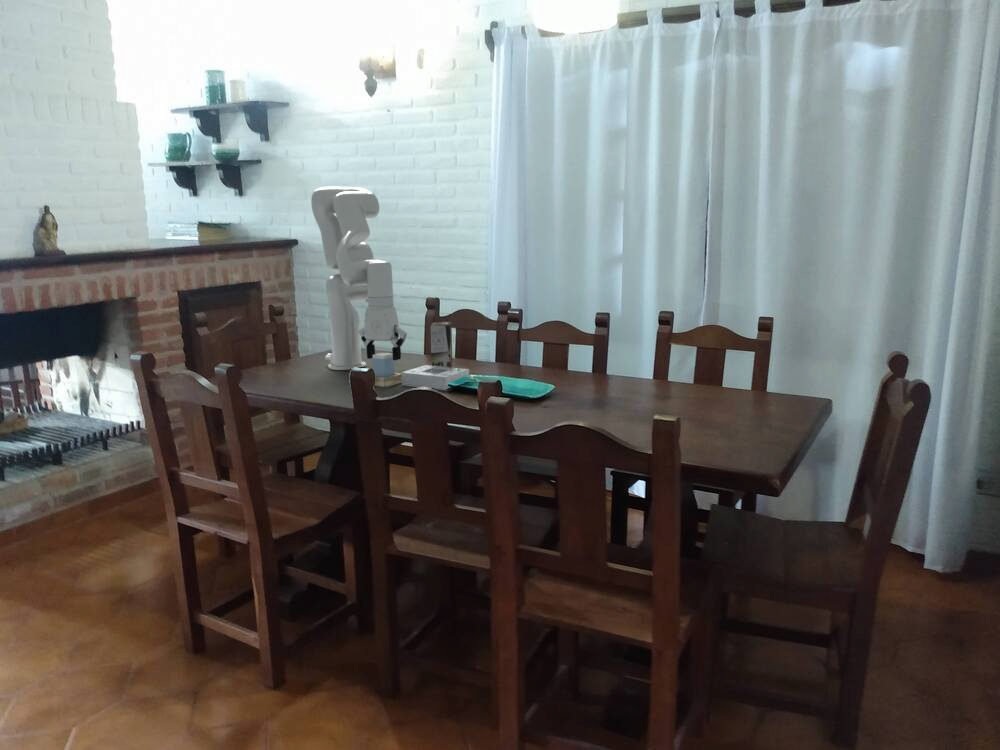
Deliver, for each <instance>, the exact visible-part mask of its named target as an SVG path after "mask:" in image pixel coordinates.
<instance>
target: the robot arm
mask: <svg viewBox="0 0 1000 750" xmlns="http://www.w3.org/2000/svg"><path fill="white" fill-rule="evenodd" d="M310 198H311V203H310V204H311V210H312V215H313V216H314V220H315V221H316V224H317V226H318V228H319V232H320V235H321V236H320V237H321V241H322V247H323V254H324V258H325V259H324V261H325V263H326V265H327V268H328V269H330V270H332V271H338V272H339V273H335V274H333V275H330V276H329V277H328V278H327V279H326V280H325V281H326V282H325V284H324V285H325V293H326V296H327V300H328V301H327V302H328V308H329V309H328V310H329V318H330V320H329V321H330V332H331V333H330V335H331V352H332V353H327V354H326V355H325V357H324V360H326V361H327V360H328V361H330V363H329V364H328V365H327V366H328V369H330V370H335V371H351V370H350V369H351V368H353V367H364V366H365V367H367V363H366V362H365V361H362V348H361V345H362V344H361V341H362V342H363V344H364V346H366V358H367V359H373V355H374V354H376V346H375V344H374V342H376V341H378V342H379V341H380V342H389V341H390V343H391V344H392V346H393V347H391V348H392V349H391V351H392V354H393V361H398V360H401V359H402V358H401V356H402V353H401V352H402V351H401V350H402V349H401V347H402V346H403V344H404V342H405V341H406V337H407V335H408V332H407V331H406V330H404V329H403V328H400V327H399V326H400V324H399V320H398V313H397V309H396V307H395V306H394V304H395V303H394V287H393V284H394V283H393V268H392V264H391V262H390V261H387V260H380V259H375V258H374V252H373V250H372V248H371V246H370V244H368V243H367V242H366V241H367V240H368V238H369V237H370V234H371V230H370V227H369V224H368V222H367V219H374V218H377V216H378V215H379V212H380V202H379V199H378V197H377V196H376V195H375V193H373V191H370V190H368V189H365V188H363V187H354V186H323V187H319V188H317V189H315V190H314V191H313V192H312V194H311V197H310ZM356 302H366V303H367V304H368V305H367V306H366V308H365V313H364V327H363V328H361V329H360V325H361V324H360V316H359V313H358V311H357V310H356V308H355V307H354V305H352V303H356ZM359 365H361V366H359ZM365 367H364V368H365Z"/></svg>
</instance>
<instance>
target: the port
mask: <svg viewBox="0 0 1000 750" xmlns="http://www.w3.org/2000/svg"><path fill="white" fill-rule="evenodd" d="M400 373H401V380H402V382H401V386H405V387H413V388H420V386H425V387H431V388H434V389H433V390H439V391H447V390H446V389H448V388H449V386H448V383H450V382H452V381H455V380H458V379H460V378H462V377H466V376H469V377H470V368H460V367H453V368H451V367H441V366H431V365H429V364H425V365H421V366H418V367H415V368H411V369H407V370H405V371H402V372H400Z"/></svg>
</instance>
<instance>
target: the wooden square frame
mask: <svg viewBox="0 0 1000 750" xmlns="http://www.w3.org/2000/svg"><path fill="white" fill-rule="evenodd" d="M375 379H376V381H375V386H374V387H376V386H377V387H383V388H389V387H392V386H395V385H398V384H402V380H401V372H394V376H390V377H387V378H383V377H375Z"/></svg>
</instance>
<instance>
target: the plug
mask: <svg viewBox="0 0 1000 750" xmlns="http://www.w3.org/2000/svg"><path fill="white" fill-rule="evenodd" d="M372 368H373V369H372V370H374V372H375V377H383V378H387V377H390V376H394V373H395V371H394V368H395V367H394V360H393V354H392V353H389V352H378V353H375V354H374V355H373V358H372Z"/></svg>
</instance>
